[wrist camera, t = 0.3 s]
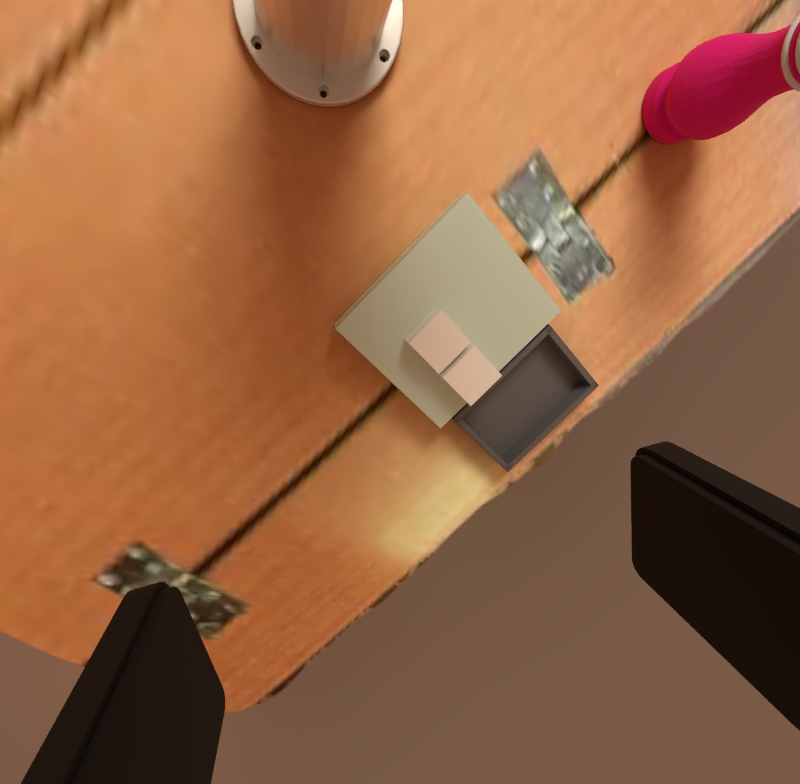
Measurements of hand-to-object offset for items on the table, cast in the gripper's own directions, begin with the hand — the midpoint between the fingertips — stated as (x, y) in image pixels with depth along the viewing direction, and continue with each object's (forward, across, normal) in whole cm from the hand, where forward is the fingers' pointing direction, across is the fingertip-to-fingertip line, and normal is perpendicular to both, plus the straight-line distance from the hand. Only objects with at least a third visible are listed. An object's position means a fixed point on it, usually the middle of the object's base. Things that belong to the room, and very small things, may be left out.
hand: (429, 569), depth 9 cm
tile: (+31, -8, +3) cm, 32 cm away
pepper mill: (+34, -35, -13) cm, 50 cm away
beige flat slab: (+34, -10, +1) cm, 36 cm away
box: (+34, -17, +11) cm, 40 cm away
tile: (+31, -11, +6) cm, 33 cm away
